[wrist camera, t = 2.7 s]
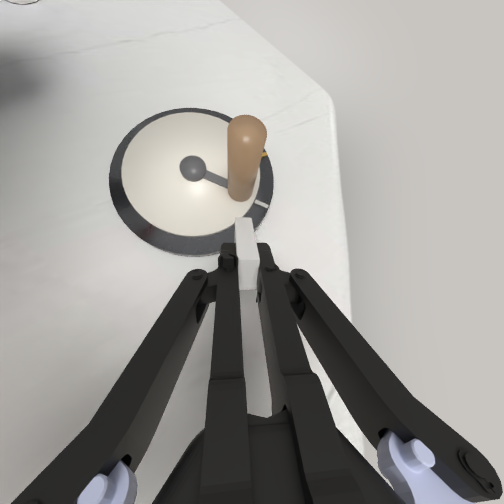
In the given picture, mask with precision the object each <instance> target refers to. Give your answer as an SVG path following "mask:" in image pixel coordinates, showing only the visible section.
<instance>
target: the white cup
mask: <svg viewBox="0 0 504 504" xmlns="http://www.w3.org/2000/svg"><path fill="white" fill-rule="evenodd" d="M7 1H9V2H12V3H18V4H27V3H32V2H36V1H37V0H7Z"/></svg>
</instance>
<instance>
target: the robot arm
mask: <svg viewBox="0 0 504 504" xmlns="http://www.w3.org/2000/svg"><path fill="white" fill-rule="evenodd" d="M256 288H257V289H258V290H257V298H256V302H258V306H259V313H260V320H261V327H262V334H263V341H264V348H265V355H266V362H267V369H268V376H269V383H270V390H271V397H272V416H271V417H268V418H264V417H260V416H256V415H252V414H247V402H246V386H245V378H244V370H243V351H242V332H241V314H240V295H239V290H256ZM215 301H216V307H215V320H214V333H213V347H212V360H211V373H210V380H209V385H208V396H207V409H206V421H205V428H204V429H203V430H202V431H201V432H200V433H199V434H198V435H197V436H196V437H195V438H194V439H193V440H192V442H191V443H190V445H189V446H188V447H187V449H186V451H185V452H184V454H183V455H182V457H181V459H180V460H179V462H178V463H177V465H176V466H175V468H174V470H173V471H172V473H171V474H170V476H169V477H168V479H167V481H166V482H165V484H164V485H163V487H162V488H161V490H160V492H159V493H158V495H157V496H156V498H155V499H154V501H153V503H152V504H475V503H477V502H481V501H489V500H495V499H500V497H501V495H502V493H503V491H502V485H501V481H500V479H499V477H498V475H497V473H496V471H495V469H494V468H493V467H492V466H491V464H490V463H489V461H488V460H487V459H486V458H485V457H484V456H483V455H482V454H481V453H480V452H479V451H478V450H477V449H476V448H475V447H474V446H473V445H471V444H470V443H469V442H468V441H466V440H465V439H464V438H463V437H462V436H460V435H459V434H458V433H457V432H456V431H454V430H453V429H452V428H451V427H450V426H448V425H447V424H446V423H445V422H444V421H442V420H441V419H440V418H439V417H437V416H436V415H435V414H434V413H433V412H431V411H430V410H429V409H428V408H427V407H425V406H424V405H423V404H422V403H420V402H419V401H418V400H417V399H416V398H414V397H413V396H412V394H411V393H410V392H409V391H408V390H407V389H406V387H405V386H404V385H403V384H402V383H401V381H400V380H399V379H398V378H397V377H396V376H395V374H394V373H393V372H392V371H391V370H390V369H389V368H388V366H387V365H386V364H385V363H384V361H383V360H382V359H381V358H380V357H379V356H378V354H377V353H376V352H375V351H374V350H373V349H372V347H371V346H370V345H369V344H368V343H367V341H366V340H365V339H364V338H363V337H362V336H361V334H360V333H359V332H358V331H357V330H356V329H355V327H354V326H353V325H352V324H351V323H350V321H349V320H348V319H347V318H346V317H345V316H344V314H343V313H342V312H341V311H340V310H339V309H338V307H337V306H336V305H335V304H334V303H333V301H332V300H331V299H330V298H329V297H328V296H327V294H326V293H325V292H324V291H323V290H322V289H321V287H320V286H319V285H318V284H317V283H316V281H315V280H314V279H313V278H312V277H311V276H310V274H309V273H308V272H306V271H305V270H303V269H293V270H292V271H291V273H288V272H284V271H281V270H279V267H278V266H277V265H276V264H275V263H274V259H273V256H272V253H271V249H270V246H269V245H268V244H267V243H256V238H255V233H254V228H253V223H252V218H247V217H235V241H234V243H223V244H222V245H221V249H220V256H219V258H218V269H216V270H215V271H213V272H209V273H207V272H206V271H205V270H202V269H194V270H192V271H190V272H188V273H187V275H186V276H185V278H184V279H183V281H182V282H181V284H180V285H179V287H178V289H177V290H176V292H175V293H174V295H173V296H172V298H171V299H170V301H169V302H168V304H167V305H166V307H165V308H164V310H163V311H162V313H161V314H160V316H159V318H158V319H157V321H156V322H155V324H154V325H153V327H152V328H151V330H150V331H149V333H148V334H147V336H146V337H145V339H144V340H143V342H142V343H141V345H140V347H139V348H138V350H137V351H136V353H135V354H134V356H133V357H132V359H131V360H130V362H129V363H128V365H127V366H126V368H125V369H124V371H123V373H122V374H121V376H120V377H119V379H118V380H117V382H116V383H115V385H114V386H113V388H112V389H111V391H110V392H109V394H108V395H107V397H106V398H105V400H104V402H103V403H102V405H101V406H100V408H99V409H98V411H97V412H96V414H95V415H94V417H93V418H92V420H91V421H90V423H89V424H88V425H87V426H86V427H85V428H84V429H83V430H82V431H81V432H80V434H79V435H78V436H77V437H76V438H75V439H74V440H73V441H72V442H71V443H70V444H69V445H68V446H67V447H66V448H65V449H64V450H63V451H62V452H61V453H60V454H59V455H58V456H57V457H56V458H55V459H54V460H53V461H52V462H51V463H50V464H49V465H48V466H47V467H46V468H45V469H44V470H43V471H42V472H41V473H40V474H39V475H38V476H37V477H36V478H35V480H34V481H33V482H32V483H31V484H30V485H29V486H28V487H27V488H26V489H25V490H24V491H23V492H22V493H21V494H20V495H19V496H18V497H17V498H16V499H15V500H14V501H13V502H12V503H11V504H134V502H135V498H136V494H137V480H136V477H135V475H134V472H135V471H136V469H137V467H138V465H139V464H140V462H141V460H142V458H143V456H144V455H145V453H146V451H147V449H148V447H149V445H150V442H151V440H152V438H153V436H154V434H155V431H156V429H157V427H158V424H159V422H160V420H161V417H162V415H163V413H164V410H165V408H166V405H167V403H168V401H169V398H170V396H171V394H172V391H173V389H174V387H175V384H176V382H177V380H178V377H179V375H180V372H181V370H182V368H183V365H184V363H185V361H186V358H187V356H188V354H189V351H190V349H191V346H192V344H193V342H194V339H195V337H196V335H197V332H198V330H199V328H200V325H201V323H202V321H203V318H204V316H205V313H206V311H207V309H208V306H209V303H211V302H215ZM296 323H297V324H296ZM297 325H298V326H299V328H300V330H301V331H302V333H303V335H304V336H305V338H306V340H307V341H308V343H309V345H310V346H311V348H312V350H313V351H314V353H315V355H316V357H317V358H318V360H319V362H320V363H321V365H322V367H323V368H324V370H325V372H326V373H327V375H328V377H329V378H330V380H331V382H332V383H333V385H334V387H335V389H336V390H337V392H338V394H339V395H340V397H341V399H342V400H343V402H344V404H345V405H346V407H347V409H348V410H349V412H350V414H351V415H352V417H353V419H354V420H355V422H356V423H357V425H358V426H359V428H360V429H361V431H362V432H363V434H364V435H365V436H366V437H367V439H368V440H369V442H370V443H371V444H372V445H373V447H374V448H375V449H376V450H377V457H378V467H379V469H380V471H381V473H382V474H383V476H384V477H385V478H387V479H388V480H389V481H390V483H391V485H392V486H393V489H394V490H393V489H392V488H391V487H390V486H389V484H388V483H386V481H385V480H384V479H383V478H382V477H381V476H380V475H379V474H378V472H377V471H376V470H375V469H374V468H373V467H372V466H371V465H370V464H369V463H368V461H367V460H366V459H365V458H364V457H363V456H362V455H361V454H360V453H359V452H358V450H357V449H356V448H355V447H354V446H353V445H352V444H351V443H350V442H349V441H348V439H347V438H346V437H345V436H344V435H343V434H342V433H341V432H340V431H339V430H338V429H337V428H336V426H335V423H334V420H333V417H332V414H331V411H330V408H329V405H328V402H327V399H326V396H325V393H324V390H323V387H322V384H321V382H320V379H319V377H318V376H317V374H315V373H313V372H312V370H311V368H310V365H309V362H308V359H307V355H306V352H305V349H304V346H303V343H302V340H301V336H300V333H299V330H298V327H297Z"/></svg>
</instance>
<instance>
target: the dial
mask: <svg viewBox="0 0 504 504" xmlns="http://www.w3.org/2000/svg"><path fill="white" fill-rule="evenodd" d="M266 137H267V131H266V128H265V126H264V124H263V123H262V122H261V121H260V120H259V119H257V118H256V117H254V116H250V115H240V116H237V117H235V118H234V119H232V120H231V121H230V123H228V122H226V121H224V120H222V119H220V118H217V117H214V116H211V115H207V114H203V113H195V112H184V113H176V114H171V115H167V116H164V117H162V118H159V119H157V120H155V121H153V122H151V123H150V124H148V125H147V126H145V127H144V128H143V129H142V130H140V131H139V132H138V133H137V135H136V136H135V137H134V138H133V139H132V141H131V142H130V144H129V145H128V147H127V150H126V152H125V154H124V158H123V162H122V168H121V173H122V183H123V187H124V190H125V193H126V195H127V197H128V199H129V201H130V203H131V204H132V206H133V207H134V209H135V210H136V211H137V212H138V213H139V214H140V215H141V216H142V217H143V218H144V219H146V220H147V221H148V222H149V223H151V224H152V225H154V226H155V227H157V228H159V229H160V230H163V231H165V232H167V233H170V234H174V235H177V236H183V237H205V236H210V235H214V234H217V233H220V232H222V231H224V230H226V229H228V228H230V227H232V226H233V225H235V217H244V216H245V215H246V213H247V212H248V211H249V209H250V208H251V206H252V204H253V202H254V200H255V198H256V195H257V191H258V188H259V182H260V168H259V165H260V161H261V157H262V153H263V149H264V145H265V141H266Z"/></svg>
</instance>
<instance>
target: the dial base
mask: <svg viewBox="0 0 504 504" xmlns="http://www.w3.org/2000/svg"><path fill="white" fill-rule="evenodd" d="M184 112H195V113H203V114H207V115H211V116H214V117H217V118H220V119H222V120H224V121H226V122H228V123H230V121H231V120H232V119H233V118H230V117H228V116H226V115H224V114H221V113H218V112H215V111H211V110H206V109H199V108H181V109H173V110H169V111H165V112H162V113H159V114H156V115H154V116H152V117H150V118H148V119H146V120H144V121H143V122H141V123H140V124H138V125H137V126H136V127H135V128H133V129H132V130H131V131H130V132H129V133H128V134H127V135H126V136H125V137H124V139H123V140H122V142H121V143H120V145H119V146H118V148H117V150H116V152H115V154H114V156H113V159H112V163H111V167H110V173H109V187H110V193H111V197H112V201H113V204H114V206H115V208H116V210H117V212H118V214H119V216H120V217H121V219H122V220H123V222H124V223H125V224H126V225H127V226H128V227H129V229H130V230H131V231H132V232H133V233H135V234H136V235H137V236H138V237H140V238H141V239H142V240H144V241H146V242H147V243H149V244H151V245H152V246H154V247H156V248H158V249H161V250H163V251H165V252H169V253H172V254H175V255H181V256H191V257H200V256H209V255H214V254H218V253H220V249H221V245H222V244H223V243H234V241H235V225H233V226H232V227H230V228H228V229H226V230H224V231H222V232H220V233H217V234H214V235H210V236H205V237H183V236H177V235H174V234H170V233H167V232H165V231H163V230H160V229H159V228H157V227H155V226H154V225H152V224H151V223H149V222H148V221H147V220H146V219H144V218H143V217H142V216H141V215H140V214H139V213H138V212H137V211H136V210H135V209H134V207H133V206H132V204H131V203H130V201H129V199H128V197H127V195H126V193H125V190H124V187H123V183H122V173H121V168H122V162H123V158H124V154H125V152H126V150H127V147H128V145H129V144H130V142H131V141H132V139H133V138H134V137H135V136H136V135H137V133H138V132H139V131H140V130H142V129H143V128H144V127H145V126H147V125H148V124H150V123H151V122H153V121H155V120H157V119H159V118H162V117H164V116H167V115H171V114H176V113H184ZM259 168H260V182H259V188H258V191H257V195H256V198H255V200H254V202H253V204H252V206H251V208H250V209H249V211H248V212H247V213H246V215H245V216H244V217H247V218H252V223H253V228H254V231H255V230H256V228H257V227H258V226H259V225H260V223H261V221H262V220H263V218H264V216H265V214H266V212H267V210H268V208H269V205H270V202H271V198H272V194H273V172H272V167H271V163H270V160H269V157H268V155H267V153H266V151H265V149H263V153H262V157H261V161H260V165H259Z"/></svg>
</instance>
